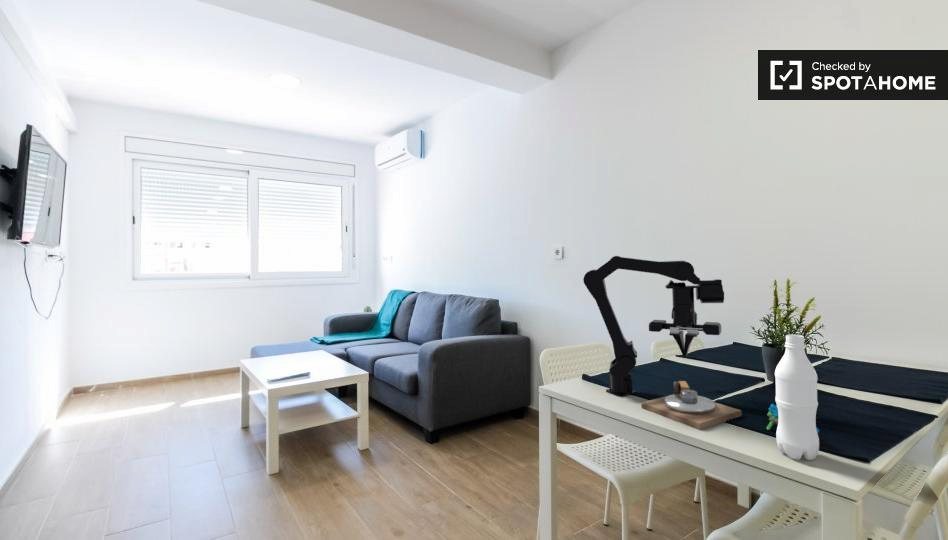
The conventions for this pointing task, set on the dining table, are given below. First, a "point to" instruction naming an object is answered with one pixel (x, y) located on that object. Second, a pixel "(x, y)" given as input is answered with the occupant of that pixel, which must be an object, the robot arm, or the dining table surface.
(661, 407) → the base board
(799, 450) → the water bottle
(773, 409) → the green blue toy figure
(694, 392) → the flange
